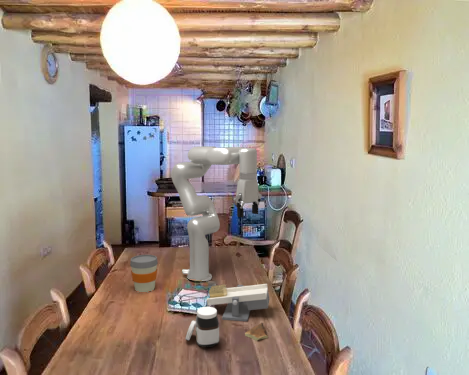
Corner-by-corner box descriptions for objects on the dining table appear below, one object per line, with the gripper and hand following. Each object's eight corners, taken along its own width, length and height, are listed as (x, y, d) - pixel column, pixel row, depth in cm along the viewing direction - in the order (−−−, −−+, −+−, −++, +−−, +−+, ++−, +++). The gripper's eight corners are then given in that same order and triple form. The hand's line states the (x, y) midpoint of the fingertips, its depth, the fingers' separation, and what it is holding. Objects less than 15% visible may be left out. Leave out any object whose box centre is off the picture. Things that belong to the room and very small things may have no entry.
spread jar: (221, 347, 135) (221, 315, 133) (188, 353, 132) (188, 320, 130) (213, 331, 146) (213, 301, 145) (183, 335, 143) (182, 305, 142)
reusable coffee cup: (130, 295, 179) (129, 263, 177) (131, 285, 191) (130, 255, 189) (158, 293, 181) (157, 261, 179) (158, 283, 193) (157, 253, 191)
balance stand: (222, 319, 155) (222, 299, 154) (229, 301, 172) (229, 283, 171) (247, 321, 154) (247, 300, 153) (252, 303, 171) (252, 284, 169)
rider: (210, 300, 161) (208, 291, 161) (213, 295, 167) (211, 286, 166) (224, 298, 160) (223, 289, 160) (227, 293, 166) (225, 284, 165)
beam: (209, 314, 160) (206, 299, 159) (214, 304, 170) (211, 289, 169) (267, 308, 156) (265, 293, 155) (269, 298, 165) (267, 283, 165)
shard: (262, 325, 151) (262, 321, 151) (278, 332, 146) (278, 327, 146) (243, 336, 143) (244, 331, 143) (260, 343, 138) (260, 339, 138)
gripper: (254, 174, 179) (254, 211, 182) (227, 177, 167) (228, 217, 169) (267, 175, 174) (266, 213, 177) (241, 178, 162) (240, 219, 164)
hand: (247, 215), depth 173 cm, fingers open, 9 cm apart
